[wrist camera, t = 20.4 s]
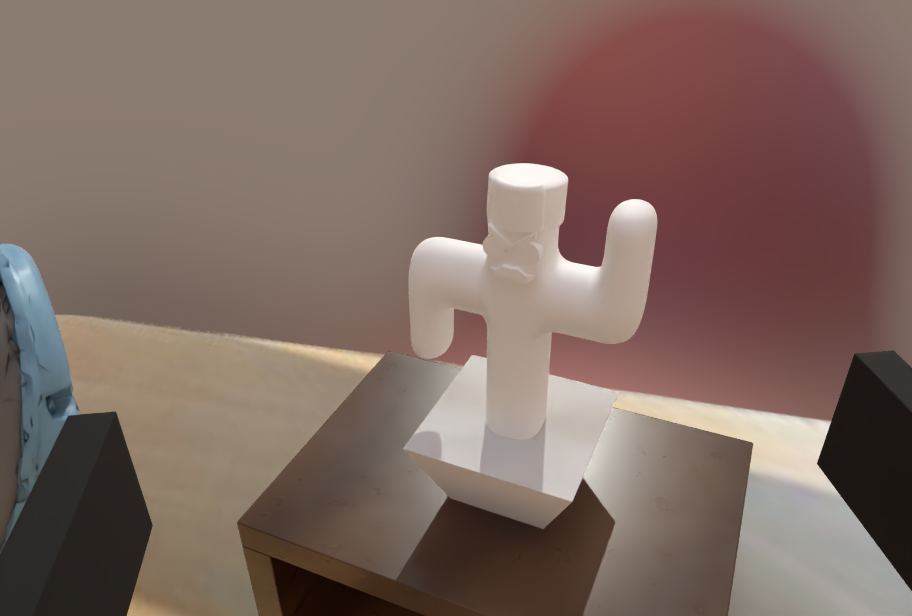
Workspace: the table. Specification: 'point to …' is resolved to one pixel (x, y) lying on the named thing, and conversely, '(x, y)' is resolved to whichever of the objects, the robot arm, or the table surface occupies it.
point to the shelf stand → (493, 521)
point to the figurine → (523, 345)
